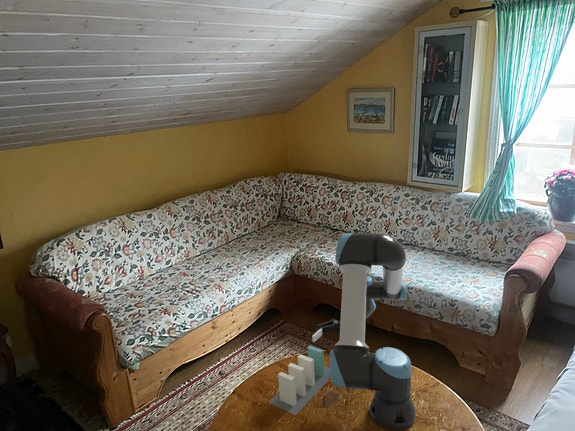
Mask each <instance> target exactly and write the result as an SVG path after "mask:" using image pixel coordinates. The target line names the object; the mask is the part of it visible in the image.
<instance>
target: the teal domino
mask: <svg viewBox="0 0 575 431" xmlns="http://www.w3.org/2000/svg"><path fill="white" fill-rule="evenodd" d="M307 357H309V358H312V359H314V374H315V375H318V376H320V377H323V376H324V366H325V357H324V349H321V348H318V347H315V346H314V345H309V346H308V347H307Z"/></svg>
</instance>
